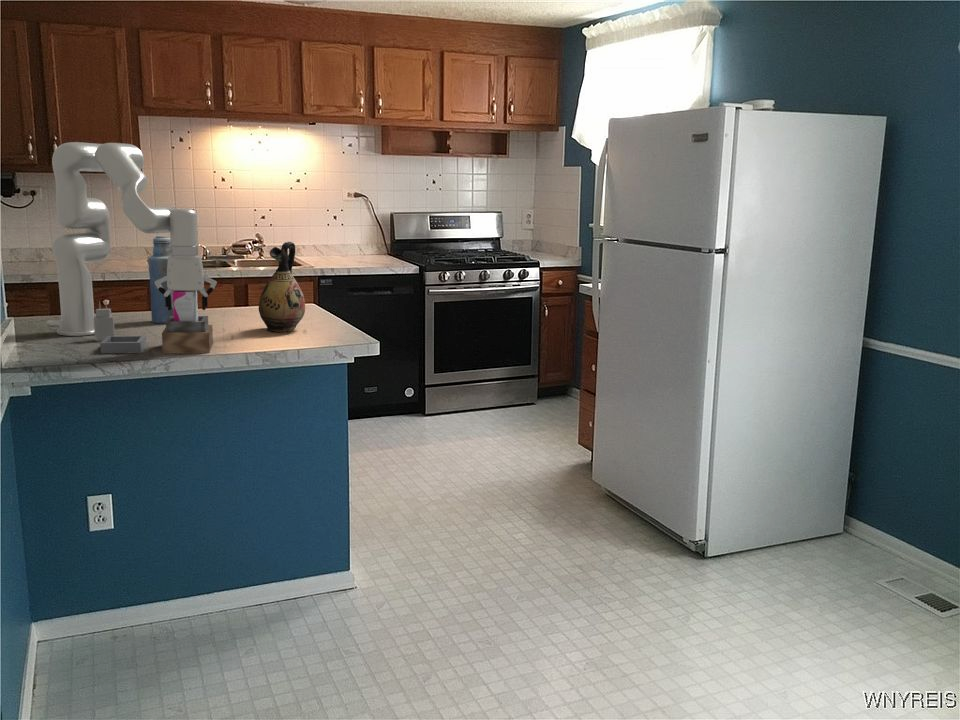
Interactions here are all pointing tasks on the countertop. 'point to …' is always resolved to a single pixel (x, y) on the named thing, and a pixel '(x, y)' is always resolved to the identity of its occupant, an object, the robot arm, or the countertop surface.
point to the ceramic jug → (282, 294)
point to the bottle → (157, 272)
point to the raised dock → (187, 336)
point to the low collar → (123, 344)
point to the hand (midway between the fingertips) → (187, 309)
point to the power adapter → (103, 324)
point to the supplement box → (185, 306)
